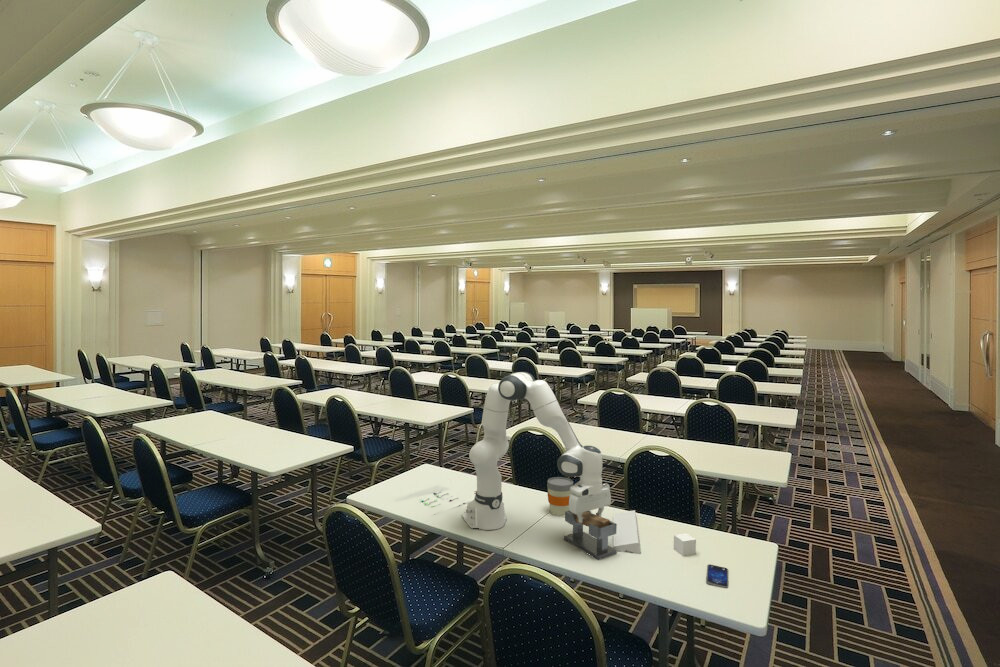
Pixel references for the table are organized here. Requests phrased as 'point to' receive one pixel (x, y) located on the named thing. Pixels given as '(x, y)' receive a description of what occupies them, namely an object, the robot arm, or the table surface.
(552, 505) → the reusable coffee cup
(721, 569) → the smartphone
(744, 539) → the table surface
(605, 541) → the bracket stand
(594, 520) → the rail
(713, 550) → the table surface
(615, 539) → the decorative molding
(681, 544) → the white cube
